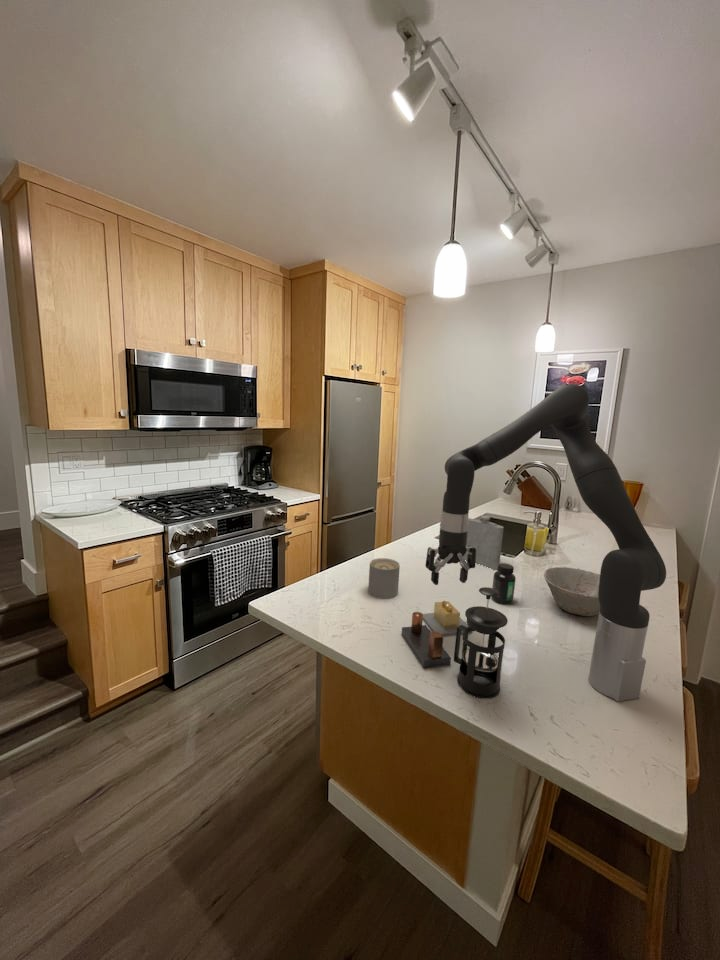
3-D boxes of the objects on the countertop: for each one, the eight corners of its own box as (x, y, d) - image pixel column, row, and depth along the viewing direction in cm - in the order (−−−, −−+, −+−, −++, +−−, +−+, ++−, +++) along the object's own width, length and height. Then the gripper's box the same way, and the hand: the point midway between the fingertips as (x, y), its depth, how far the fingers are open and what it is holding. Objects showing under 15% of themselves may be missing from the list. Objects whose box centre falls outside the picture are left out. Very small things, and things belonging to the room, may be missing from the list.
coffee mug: (383, 601, 130) (385, 572, 128) (362, 590, 137) (363, 562, 135) (410, 590, 139) (412, 562, 137) (389, 580, 146) (390, 553, 144)
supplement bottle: (514, 606, 131) (518, 571, 129) (492, 603, 132) (496, 568, 130) (511, 596, 138) (515, 563, 135) (490, 594, 139) (493, 560, 137)
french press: (510, 687, 92) (522, 592, 88) (489, 707, 86) (502, 606, 81) (464, 662, 100) (474, 575, 96) (442, 679, 94) (451, 585, 90)
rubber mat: (472, 633, 114) (472, 630, 114) (436, 636, 111) (436, 634, 111) (453, 613, 124) (454, 611, 124) (420, 616, 121) (420, 614, 121)
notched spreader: (460, 559, 170) (464, 513, 166) (465, 557, 173) (469, 511, 169) (496, 571, 159) (502, 522, 156) (501, 568, 162) (506, 520, 158)
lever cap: (458, 627, 115) (460, 609, 114) (444, 629, 114) (446, 610, 113) (447, 615, 121) (448, 597, 120) (433, 616, 120) (435, 598, 119)
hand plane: (450, 664, 99) (452, 636, 98) (423, 668, 97) (426, 639, 96) (425, 631, 113) (427, 606, 112) (401, 634, 112) (403, 608, 110)
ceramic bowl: (604, 599, 139) (609, 572, 137) (629, 635, 117) (634, 602, 115) (535, 589, 145) (538, 562, 143) (545, 620, 123) (550, 589, 121)
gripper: (436, 532, 107) (431, 590, 109) (484, 530, 111) (478, 586, 113) (424, 524, 114) (420, 579, 117) (469, 523, 118) (464, 576, 120)
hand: (449, 582), depth 115 cm, fingers open, 8 cm apart
